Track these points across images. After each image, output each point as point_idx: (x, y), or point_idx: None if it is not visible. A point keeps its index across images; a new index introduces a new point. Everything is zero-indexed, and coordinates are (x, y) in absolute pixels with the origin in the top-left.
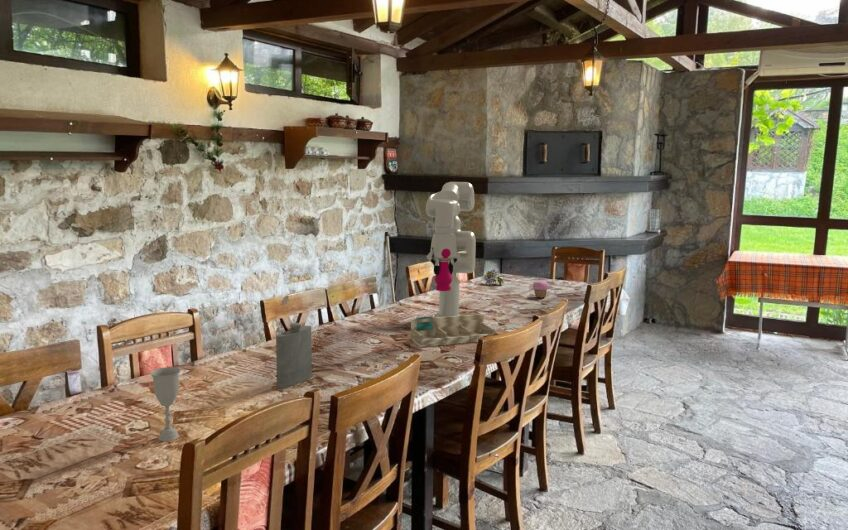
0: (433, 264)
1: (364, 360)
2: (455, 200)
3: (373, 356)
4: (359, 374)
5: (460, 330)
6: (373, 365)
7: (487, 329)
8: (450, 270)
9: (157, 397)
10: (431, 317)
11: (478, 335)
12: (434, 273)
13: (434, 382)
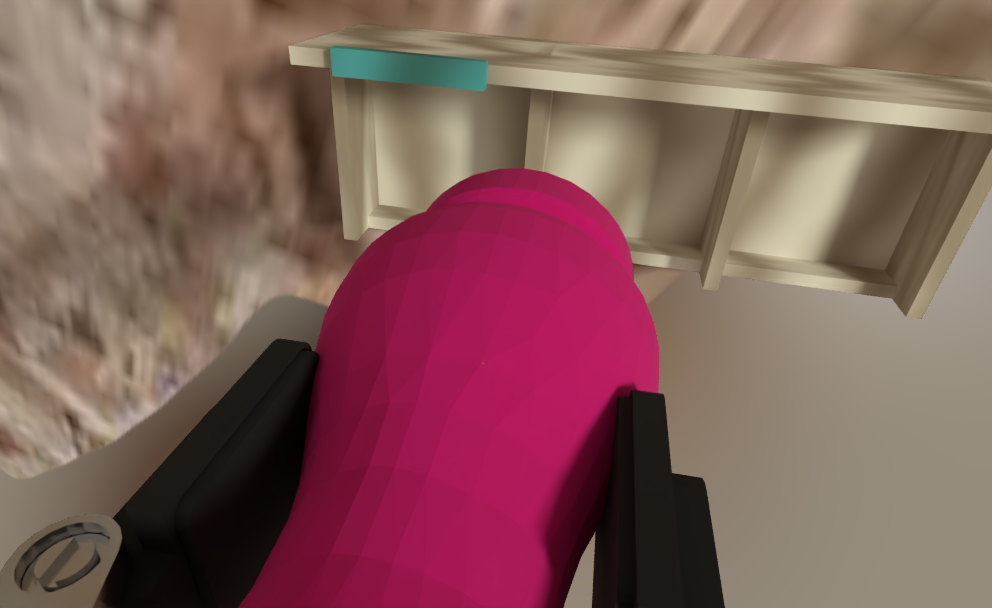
0: (70, 555)
1: (80, 284)
2: None
3: (117, 250)
4: (75, 407)
5: (741, 117)
6: (119, 352)
7: (938, 220)
8: (593, 578)
9: None
10: (471, 88)
11: (770, 280)
12: (275, 344)
13: None
